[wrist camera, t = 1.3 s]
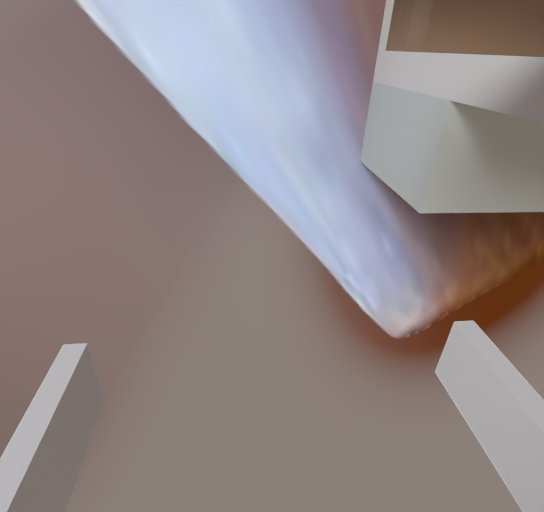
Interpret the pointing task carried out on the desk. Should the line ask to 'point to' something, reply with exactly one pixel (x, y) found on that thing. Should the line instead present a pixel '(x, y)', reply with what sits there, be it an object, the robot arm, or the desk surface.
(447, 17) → the walnut rod
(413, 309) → the desk surface
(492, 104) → the two-step riser
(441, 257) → the desk surface
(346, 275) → the desk surface
